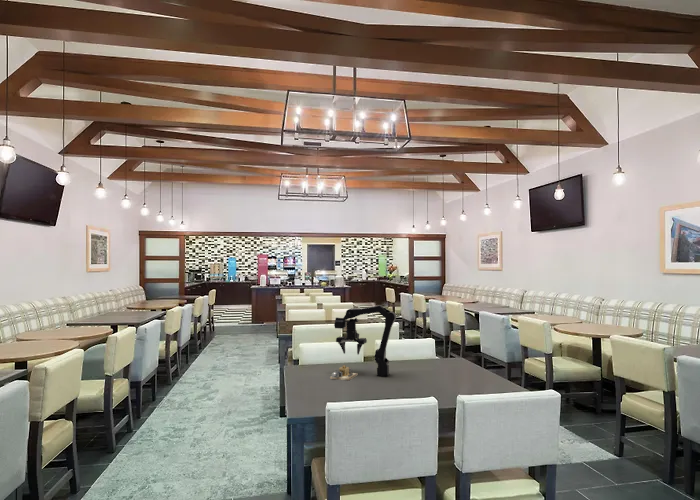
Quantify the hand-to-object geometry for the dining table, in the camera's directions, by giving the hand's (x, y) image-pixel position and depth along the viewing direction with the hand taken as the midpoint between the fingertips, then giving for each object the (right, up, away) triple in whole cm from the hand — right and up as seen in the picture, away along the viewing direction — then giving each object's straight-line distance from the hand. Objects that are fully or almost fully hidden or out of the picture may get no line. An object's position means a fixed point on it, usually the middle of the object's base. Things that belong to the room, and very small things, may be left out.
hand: (351, 354), depth 267 cm
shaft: (-9, -11, -13) cm, 19 cm away
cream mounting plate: (-4, -12, -8) cm, 15 cm away
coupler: (-4, -11, -8) cm, 14 cm away
